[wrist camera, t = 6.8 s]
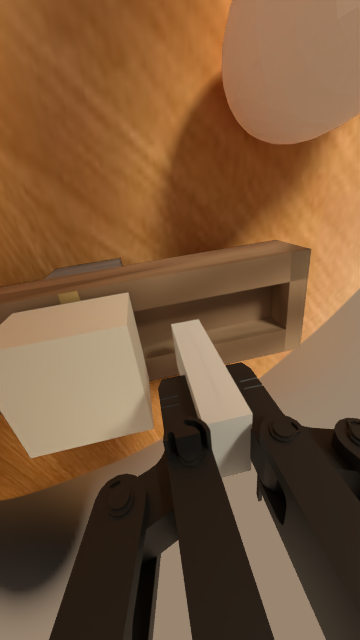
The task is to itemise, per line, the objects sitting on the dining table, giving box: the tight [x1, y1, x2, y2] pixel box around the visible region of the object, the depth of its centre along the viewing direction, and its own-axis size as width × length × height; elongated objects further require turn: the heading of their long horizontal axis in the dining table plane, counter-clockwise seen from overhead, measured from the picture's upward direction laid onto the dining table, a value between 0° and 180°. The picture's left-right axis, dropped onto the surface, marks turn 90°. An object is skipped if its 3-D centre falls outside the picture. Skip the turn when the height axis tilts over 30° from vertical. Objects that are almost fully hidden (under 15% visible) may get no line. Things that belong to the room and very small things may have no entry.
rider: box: [0, 292, 154, 458], centre depth 13 cm, size 6×6×6 cm
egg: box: [221, 0, 360, 144], centre depth 11 cm, size 8×8×11 cm
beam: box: [0, 240, 311, 414], centre depth 18 cm, size 7×28×7 cm, turn 98°
